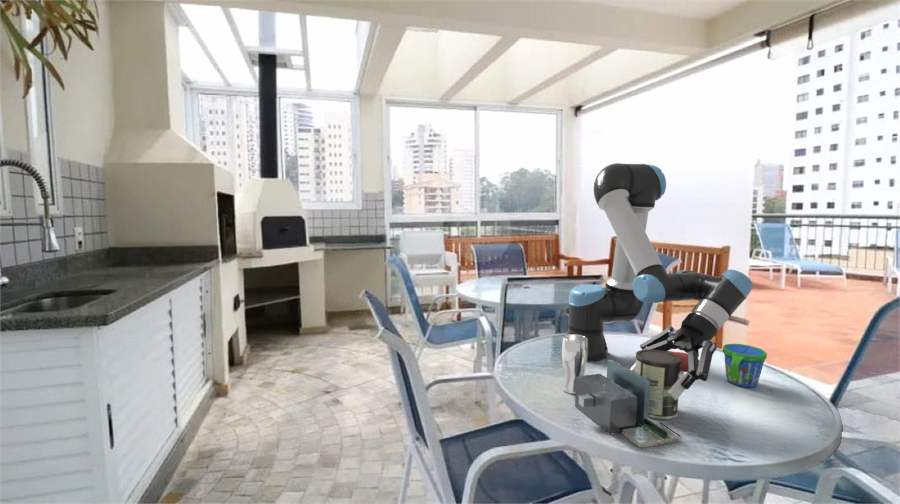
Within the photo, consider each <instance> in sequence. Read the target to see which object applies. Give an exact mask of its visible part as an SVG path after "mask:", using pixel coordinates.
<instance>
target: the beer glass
mask: <svg viewBox="0 0 900 504" xmlns="http://www.w3.org/2000/svg"><path fill="white" fill-rule="evenodd" d="M566 334H567V333H566ZM566 334H565V335H562V343H561V364H562V369H563V370H562V371H563V381H562V384H561V389H562V391H563V392H564V393H566V394H570V395H576V377H577V376H585V372H586V366H587V363H588V360H587V357H588V341H587V340H588V339H587V337H585V336H582V335H577V334H567V335H566Z"/></svg>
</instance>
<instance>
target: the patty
mask: <svg viewBox="0 0 900 504" xmlns="http://www.w3.org/2000/svg"><path fill="white" fill-rule="evenodd" d="M666 352H670V353H672V354H675V355H677V356H679V357H680V358H681V365H680V372H682V371H687V370H688V371H689V366H688V353H686V352H682V351H670V350H668V351H666ZM698 361H700V359H698ZM698 364H699V362H698Z"/></svg>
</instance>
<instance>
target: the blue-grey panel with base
mask: <svg viewBox="0 0 900 504" xmlns="http://www.w3.org/2000/svg"><path fill="white" fill-rule="evenodd" d="M606 364H607V365H606V366H607V367H606V378H608V379H609V380H611V381H613V382H614V383H616V384H617V385H619V386H621V387H622V388H624V389H625V390H627V391H629V392H630V393H632V394H633V395H635V396H637V411H636V423H637V424H638V425H640V427H641V426H644V425H648V426H650V427H651V428H652V429H654V430H655V431H657V432H658V433H660V434H661V435H663V436H667V432H666V431H664V430H663V429H661V428H660V427H658V426H657V425H655V424H656V423H654V422H653V421H651V420H649V417H648V407H649V391H650V380H648V379H646V378H644V377H643V376H641V375H639V374H637V373H635V372H633V371H632V370H630V368H628V367H626V366H625V365H622V364H621V363H619V362H617V361H615V360H613V359H607V363H606ZM579 404H580V405H581V406H582V407H588V406H595V396H593V395H592V394H586V395H579Z"/></svg>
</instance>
